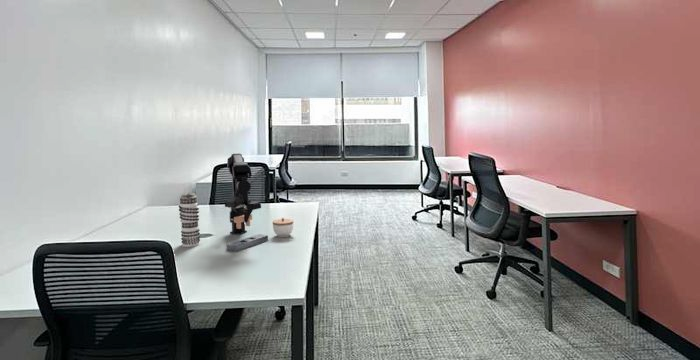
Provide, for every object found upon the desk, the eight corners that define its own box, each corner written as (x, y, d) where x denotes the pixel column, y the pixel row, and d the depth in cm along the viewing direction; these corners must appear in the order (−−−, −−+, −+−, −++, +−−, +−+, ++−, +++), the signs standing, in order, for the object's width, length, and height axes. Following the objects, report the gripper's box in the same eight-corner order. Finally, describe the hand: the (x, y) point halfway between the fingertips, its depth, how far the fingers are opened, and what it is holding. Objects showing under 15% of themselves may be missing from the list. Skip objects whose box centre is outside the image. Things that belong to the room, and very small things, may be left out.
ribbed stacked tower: (180, 243, 210) (177, 193, 207) (200, 240, 214) (197, 191, 210) (181, 247, 202) (177, 195, 199) (201, 245, 205) (198, 194, 202)
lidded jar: (284, 239, 215) (283, 221, 214) (268, 236, 220) (268, 218, 219) (297, 234, 224) (297, 217, 223) (282, 232, 229) (281, 215, 228)
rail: (226, 249, 197) (226, 244, 197) (258, 238, 216) (258, 234, 216) (236, 251, 194) (235, 246, 194) (268, 240, 213) (267, 235, 213)
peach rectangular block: (234, 228, 201) (233, 217, 200) (248, 224, 208) (247, 213, 208) (238, 229, 199) (238, 217, 198) (252, 225, 207) (252, 214, 206)
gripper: (215, 191, 199) (216, 223, 201) (243, 193, 190) (245, 227, 192) (232, 188, 209) (234, 219, 211) (261, 190, 199) (262, 223, 201)
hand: (243, 222), depth 203 cm, fingers closed on peach rectangular block, 3 cm apart
